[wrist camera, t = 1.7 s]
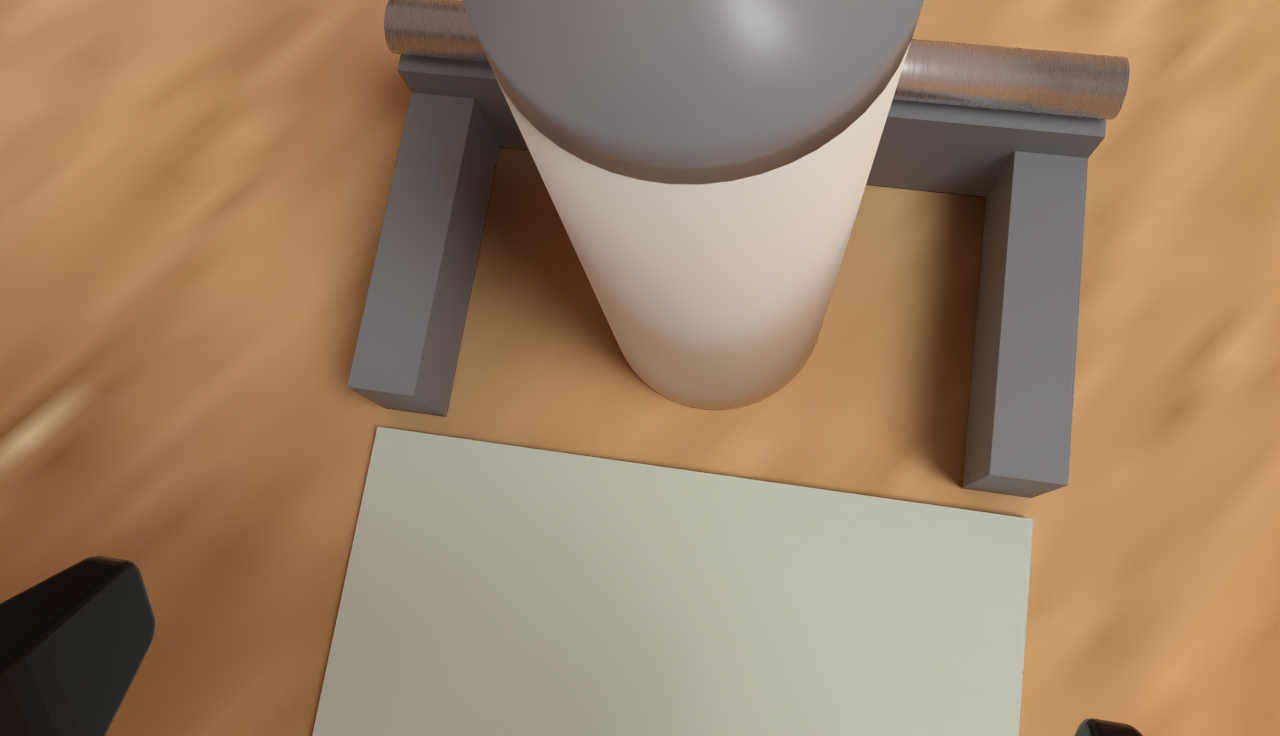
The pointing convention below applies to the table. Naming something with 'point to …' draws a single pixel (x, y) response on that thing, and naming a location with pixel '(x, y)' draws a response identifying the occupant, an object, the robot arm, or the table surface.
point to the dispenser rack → (905, 158)
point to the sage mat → (664, 604)
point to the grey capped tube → (703, 166)
